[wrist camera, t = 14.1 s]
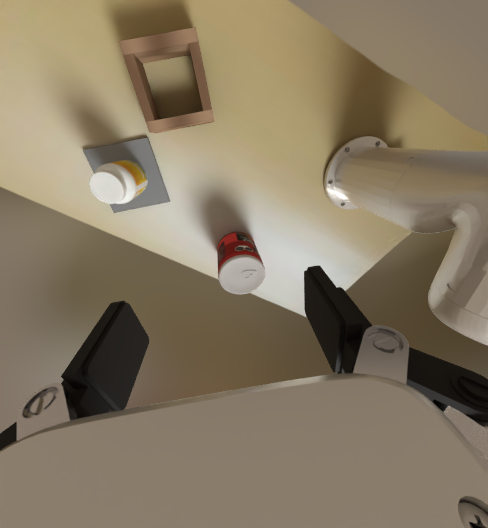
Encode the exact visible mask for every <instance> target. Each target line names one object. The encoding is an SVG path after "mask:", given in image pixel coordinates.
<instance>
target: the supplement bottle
mask: <svg viewBox="0 0 488 528" xmlns="http://www.w3.org/2000/svg"><path fill="white" fill-rule="evenodd" d="M147 183H148V179H147V175H146V173H145V171H144V170H143V168H142V167H141V166H140V165H138V164H137V163H135V162H133V161H130V160H122V161H117V162H112V163H107V164H104V165H101V166H100V167H98V168H97V170H96V171H95V173H94V174H93V175H92V176H91V178H90V180H89V187H90V190H91V192H92V193H93V195H94V196H95V197H96V198H97V199H98V200H100V201H102V202H104V203H108V204H114V203H116V204H124V203H127V202H129V201H131V200H132V199H134V198H135V197H137V196H138V195H139V194H141V193H142V192H143V191H144V190H145V189H146V187H147Z"/></svg>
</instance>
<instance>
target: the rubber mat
mask: <svg viewBox="0 0 488 528" xmlns="http://www.w3.org/2000/svg"><path fill="white" fill-rule="evenodd" d="M83 151H84V154H85V156H86V158H87V160H88V162H89V164H90V166H91V168H92V170H93V172H94V173H95V171H96V170H97V168H98V167H100V166H101V165H104V164H107V163H112V162H117V161H122V160H130V161H133V162H135V163H137V164H138V165H140V166H141V167H142V168H143V170H144V171H145V173H146V175H147V179H148V183H147V187H146V189H145V190H144V191H143V192H142V193H141V194H139V195H138V196H137V197H135V198H134V199H132V200H131V201H129V202H127V203H124V204H116V203H114V204H110V206H111V208H112V210H113V212H114V213H116V212H121V211H126V210H131V209H136V208H141V207H146V206H151V205H156V204H161V203H166V202H170V200H169V197H168V194H167V191H166V188H165V185H164V182H163V179H162V177H161V174H160V171H159V168H158V165H157V162H156V159H155V156H154V153H153V151H152V148H151V145H150V142H149V139H148V138H143V139H138V140H132V141H127V142H122V143H117V144H112V145H107V146H101V147H96V148H91V149H86V150H83Z"/></svg>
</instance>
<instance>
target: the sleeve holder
mask: <svg viewBox="0 0 488 528" xmlns="http://www.w3.org/2000/svg"><path fill="white" fill-rule="evenodd" d="M118 42H119V44H120V47H121V50H122V53H123V56H124V59H125V62H126V65H127V68H128V71H129V74H130V77H131V80H132V83H133V86H134V89H135V92H136V94H137V97H138V100H139V103H140V106H141V109H142V112H143V115H144V118H145V121H146V124H147V127H148V130H149V132H151V133H159V132H164V131H169V130H174V129H179V128H184V127H190V126H195V125H200V124H205V123H210V122H214V118H213V112H212V107H211V102H210V97H209V92H208V87H207V82H206V77H205V72H204V67H203V62H202V57H201V52H200V47H199V42H198V37H197V32H196V27H194V28H189V29H183V30H178V31H172V32H167V33H161V34H156V35H151V36H145V37H140V38H134V39H129V40H123V41H118ZM185 55H191V56H192V61H193V66H194V70H195V75H196V80H197V84H198V89H199V93H200V98H201V103H202V107H203V111H201V112H196V113H191V114H186V115H181V116H175V117H170V118H165V119H159V115H158V112H157V109H156V106H155V102H154V99H153V96H152V93H151V90H150V86H149V83H148V80H147V77H146V73H145V70H144V67H143V64H142V63H147V62H153V61H158V60H164V59H169V58H174V57H180V56H185Z"/></svg>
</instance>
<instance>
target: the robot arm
mask: <svg viewBox="0 0 488 528" xmlns="http://www.w3.org/2000/svg"><path fill="white" fill-rule="evenodd" d="M345 149H346V150H345ZM328 181H329V182H328ZM324 188H325V192H326V195H327V197H328V199H329V200H330V201H331V202H332V203H333V204H334V205H336V206H338V207H340V208H342V209H357V208H362V209H364V210H367V211H369V212H371V213H373V214H375V215H377V216H379V217H382V218H384V219H386V220H388V221H390V222H392V223H394V224H397V225H399V226H401V227H403V228H406V229H408V230H410V231H414V232H418V233H436V232H442V231H447V230H451V229H455V228H456V229H455V233H454V236H453V238H452V241H451V243H450V246H449V249H448V251H447V253H446V255H445V258H444V259H443V262H442V264H441V266H440V268H439V270H438V272H437V274H436V276H435V278H434V280H433V283H432V285H431V288H430V291H429V295H428V302H429V306H430V308H431V310H432V311H433V313H434V314H435V315H436V316H437V317H438V318H439V319H440V320H441V321H442V322H443V323H445V324H446V325H448V326H449V327H451V328H452V329H454V330H456V331H458V332H459V333H461V334H463V335H465V336H467V337H469V338H472V339H474V340H476V341H478V342H480V343H483V344H485V345H488V151H449V150H428V149H407V148H389V147H388V146H387V144H386V143H385V142H384V141H383V140H381V139H379V138H377V137H372V136H363V137H358V138H355V139H353V140H350V141H349V142H347V143H346V144H344V145H343V146H342V147H341V148H340V149H339V150H338V151H337V152H336V153H335V154H334V156H333V157H332V159H331V160H330V162H329V164H328V167H327V169H326V173H325V177H324ZM304 293H305V313H306V316H307V318H308V320H309V322H310V324H311V326H312V328H313V331H314V332H315V335H316V337H317V339H318V341H319V343H320V345H321V347H322V350H323V352H324V354H325V356H326V358H327V360H328V362H329V364H330V366H331V369H332V370H333V372H337V373H338V374H333V375H322V376H316V377H309V378H303V379H296V380H290V381H284V382H278V383H272V384H266V385H260V386H255V387H249V388H243V389H237V390H232V391H226V392H220V393H214V394H208V395H204V396H197V397H192V398H186V399H181V400H175V401H169V402H164V403H158V404H153V405H147V406H142V407H137V408H131V409H125V410H124V408H125V407H126V405H127V402H128V400H129V397H130V394H131V391H132V388H133V386H134V383H135V380H136V377H137V374H138V372H139V369H140V366H141V363H142V361H143V358H144V355H145V352H146V349H147V347H148V344H149V337H148V335H147V333H146V332H145V330H144V328H143V327H142V325H141V323H140V321H139V320H138V318H137V316H136V315H135V313H134V311H133V309H132V308H131V306H130V305H129V304H128V303H126V302H125V301H119V302H113V303H111V304H110V305H109V307H108V308H107V309H106V311H105V313H104V314H103V315H102V317H101V318H100V320H99V322H98V323H97V324H96V326H95V327H94V329H93V330H92V331H91V333H90V335H89V336H88V338H87V339H86V340H85V342H84V343H83V345H82V346H81V348H80V349H79V351H78V352H77V354H76V355H75V357H74V358H73V360H72V361H71V362H70V364H69V365H68V367H67V368H66V370H65V372H64V373H63V374H62V376H61V377H62V378H63V379H64V380H63V382H62V383H61V384H60V383H52V384H49V385H46V386H44V387H42V388H41V389H39V390H38V391H36V392H35V393H34V394H32V395H31V396H30V397H29V398H28V399H27V400H26V401H25V403H24V404H23V405H22V406H21V408H20V410H19V412H18V414H17V422H15V423H14V424H13V425H11V426H10V427H9V428H7V429H6V430H5V431H3V432H2V433H1V434H0V528H488V464H487V463H486V461H485V460H484V459H483V458H482V456H483V457H484V458H486V459H487V460H488V379H486V378H485V377H483V376H481V375H479V374H477V373H475V372H473V371H470V370H467V369H465V368H462V367H460V366H457V365H454V364H452V363H449V362H447V361H444V360H441V359H439V358H436V357H434V356H431V355H428V354H425V353H423V352H420V351H418V350H415V349H413V348H410V347H409V345H408V342H407V340H406V338H405V337H404V336H403V335H402V334H400V333H399V332H398V331H396V330H394V329H392V328H389V327H386V326H372V325H371V323H370V322H369V321H368V320H367V319H366V317H365V316H364V315H363V313H362V312H361V311H360V310H359V309H358V307H357V306H356V305H355V304H354V302H353V301H352V300H351V299H350V297H349V296H348V295H347V294H346V292H345V291H344V290H343V289H342V288H340V287H339V288H336V286H335V285H334V284H333V282H332V281H331V280H330V278H329V277H328V276H327V275H326V273H325V272H324V271H323V269H322V268H321V267H320V266H313V267H308V269H307V270H306V271H305V272H304ZM471 444H472V445H474V446H475V447H476V448H477V449H479V450H480V451H482V452H483V455H482V456H481V455H480V454H479V453H478V452H477V450H476V449H475V448H474V447H473V446H472V445H471ZM458 503H459V504H458Z"/></svg>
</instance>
